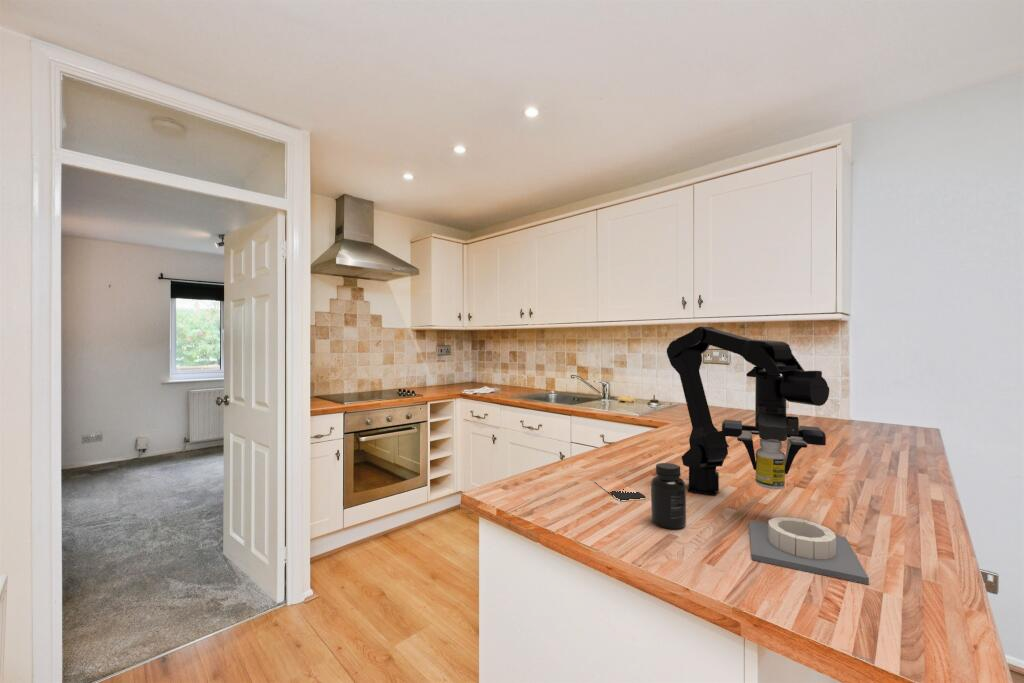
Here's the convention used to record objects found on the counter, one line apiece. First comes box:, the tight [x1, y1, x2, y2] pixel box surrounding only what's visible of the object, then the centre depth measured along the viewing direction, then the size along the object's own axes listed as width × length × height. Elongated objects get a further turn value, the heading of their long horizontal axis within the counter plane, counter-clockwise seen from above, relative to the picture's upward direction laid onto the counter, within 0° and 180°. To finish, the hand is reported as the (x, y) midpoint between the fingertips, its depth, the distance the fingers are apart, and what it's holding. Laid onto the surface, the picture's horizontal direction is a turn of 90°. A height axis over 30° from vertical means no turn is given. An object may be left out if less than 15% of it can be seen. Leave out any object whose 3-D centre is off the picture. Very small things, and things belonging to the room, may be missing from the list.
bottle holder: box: [748, 516, 870, 585], centre depth 78 cm, size 16×16×4 cm
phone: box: [610, 489, 646, 500], centre depth 109 cm, size 7×1×15 cm
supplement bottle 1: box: [650, 462, 687, 530], centre depth 89 cm, size 7×7×12 cm
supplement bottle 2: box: [755, 438, 786, 490], centre depth 92 cm, size 5×5×10 cm
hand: (770, 471), depth 92 cm, fingers closed on supplement bottle 2, 5 cm apart
